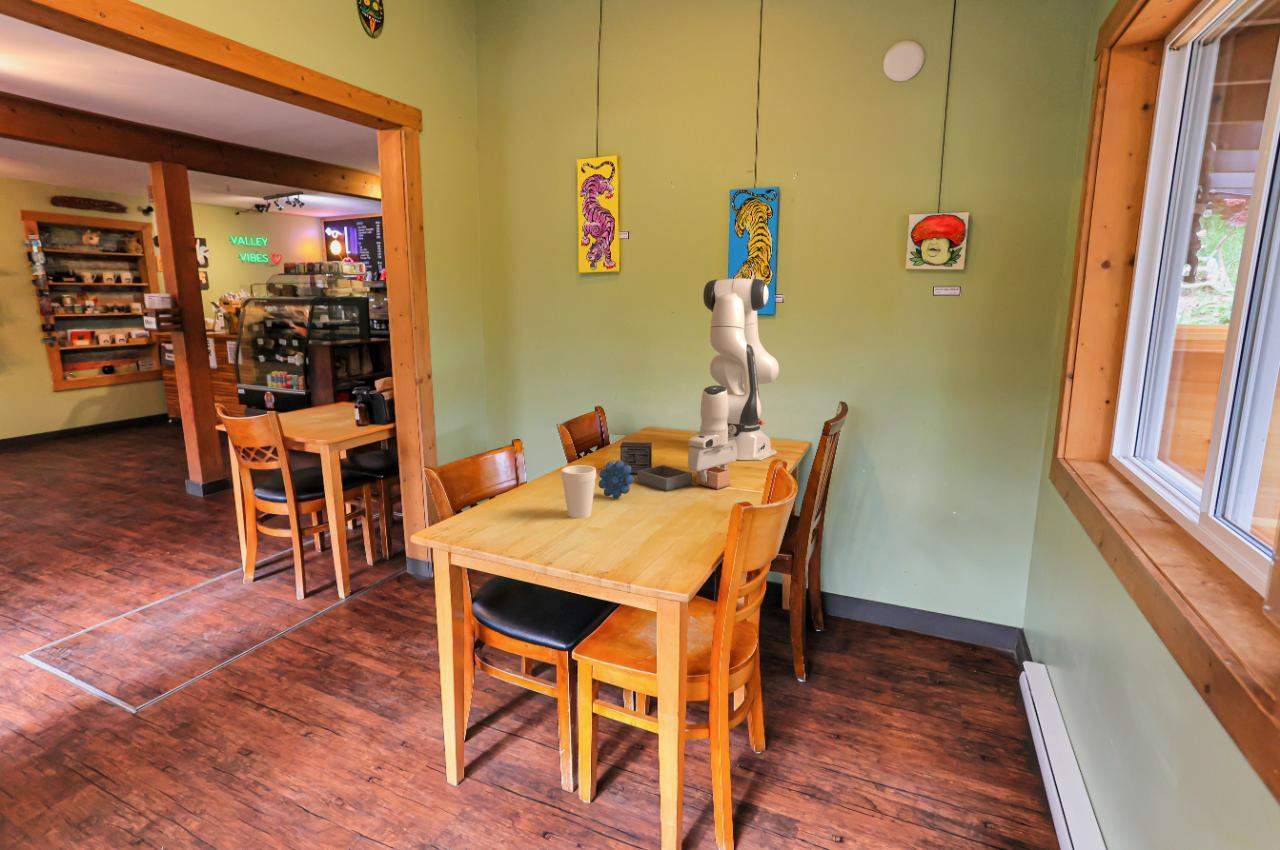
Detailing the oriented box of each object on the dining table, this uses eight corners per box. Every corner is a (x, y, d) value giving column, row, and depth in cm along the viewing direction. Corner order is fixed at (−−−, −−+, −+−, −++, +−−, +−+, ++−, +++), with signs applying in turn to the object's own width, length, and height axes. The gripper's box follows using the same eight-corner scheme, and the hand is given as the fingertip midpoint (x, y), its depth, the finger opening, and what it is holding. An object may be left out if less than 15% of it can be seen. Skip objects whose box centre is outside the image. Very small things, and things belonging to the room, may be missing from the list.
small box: (652, 471, 224) (652, 441, 222) (650, 476, 218) (650, 445, 216) (622, 470, 225) (622, 441, 223) (619, 475, 219) (619, 445, 217)
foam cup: (569, 522, 172) (568, 475, 170) (557, 512, 180) (556, 467, 178) (602, 516, 177) (601, 471, 174) (588, 507, 185) (588, 463, 182)
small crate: (708, 479, 212) (709, 464, 211) (729, 485, 205) (730, 470, 204) (696, 483, 208) (696, 468, 207) (717, 489, 201) (717, 473, 200)
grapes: (639, 496, 195) (639, 458, 192) (629, 503, 189) (629, 463, 186) (605, 492, 199) (605, 454, 197) (595, 498, 193) (594, 459, 191)
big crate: (662, 476, 217) (662, 464, 216) (692, 484, 207) (692, 472, 207) (637, 482, 210) (637, 470, 209) (666, 491, 200) (666, 479, 199)
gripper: (727, 431, 213) (726, 471, 215) (684, 440, 199) (684, 483, 202) (742, 434, 208) (741, 475, 211) (699, 444, 195) (699, 487, 197)
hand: (713, 479), depth 206 cm, fingers closed on small crate, 6 cm apart
